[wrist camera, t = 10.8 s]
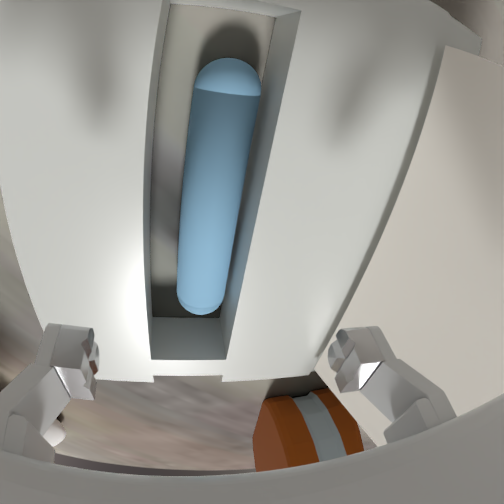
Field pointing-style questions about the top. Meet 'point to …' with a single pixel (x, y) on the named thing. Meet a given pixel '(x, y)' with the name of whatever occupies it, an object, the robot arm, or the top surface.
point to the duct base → (255, 184)
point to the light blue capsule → (214, 179)
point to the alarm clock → (303, 431)
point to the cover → (442, 250)
